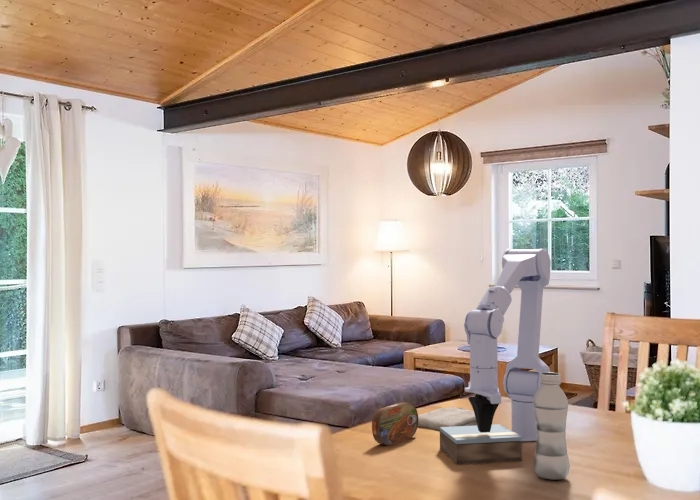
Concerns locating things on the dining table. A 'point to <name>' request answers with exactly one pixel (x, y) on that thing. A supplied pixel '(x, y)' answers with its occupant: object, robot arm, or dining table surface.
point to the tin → (395, 423)
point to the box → (481, 451)
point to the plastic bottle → (551, 428)
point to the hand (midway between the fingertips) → (484, 431)
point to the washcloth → (447, 418)
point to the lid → (479, 434)
